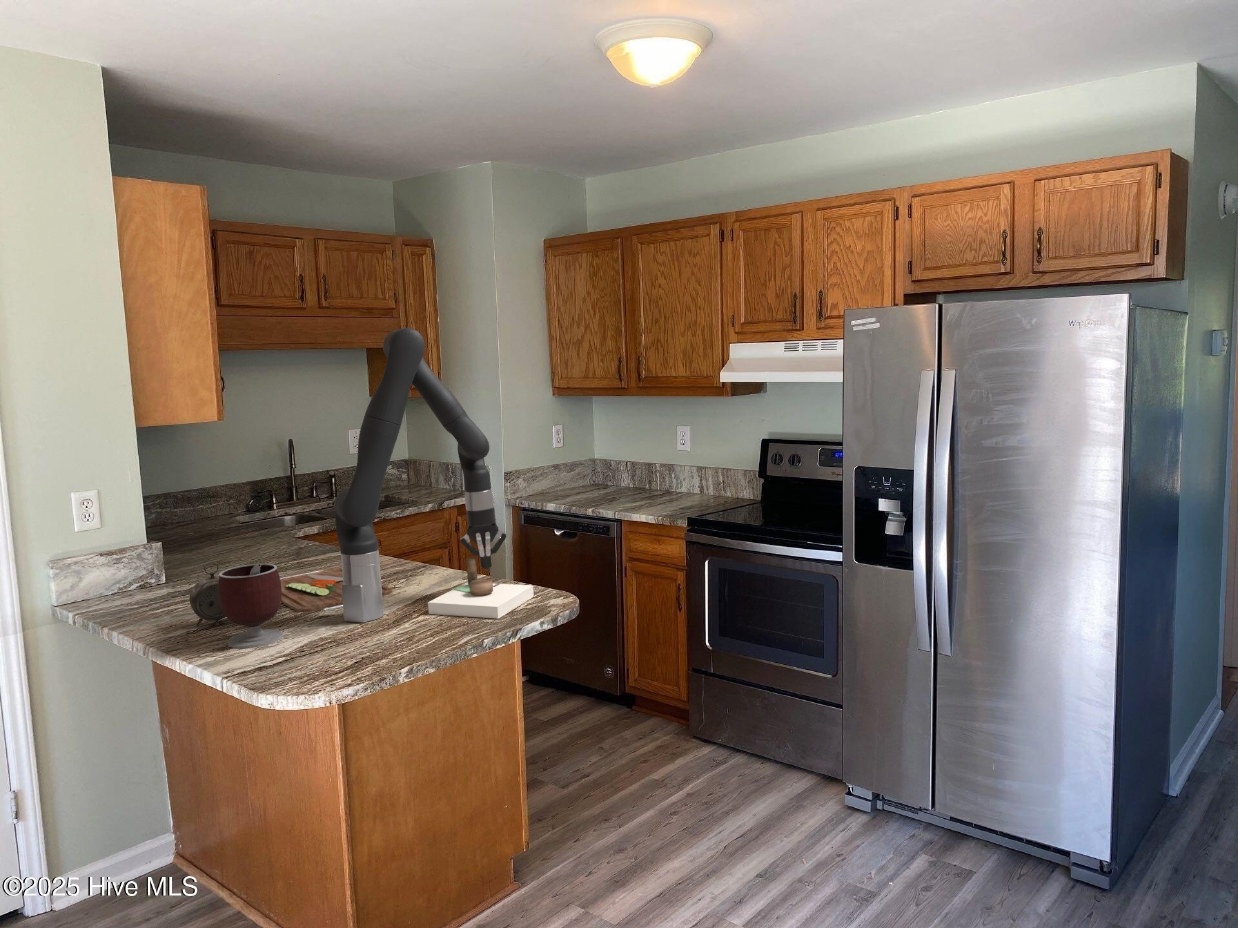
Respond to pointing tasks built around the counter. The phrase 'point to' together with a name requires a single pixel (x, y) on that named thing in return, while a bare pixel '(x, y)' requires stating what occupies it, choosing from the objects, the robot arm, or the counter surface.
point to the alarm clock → (207, 599)
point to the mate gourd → (251, 602)
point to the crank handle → (476, 585)
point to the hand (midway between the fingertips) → (486, 569)
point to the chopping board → (316, 590)
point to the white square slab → (481, 601)
